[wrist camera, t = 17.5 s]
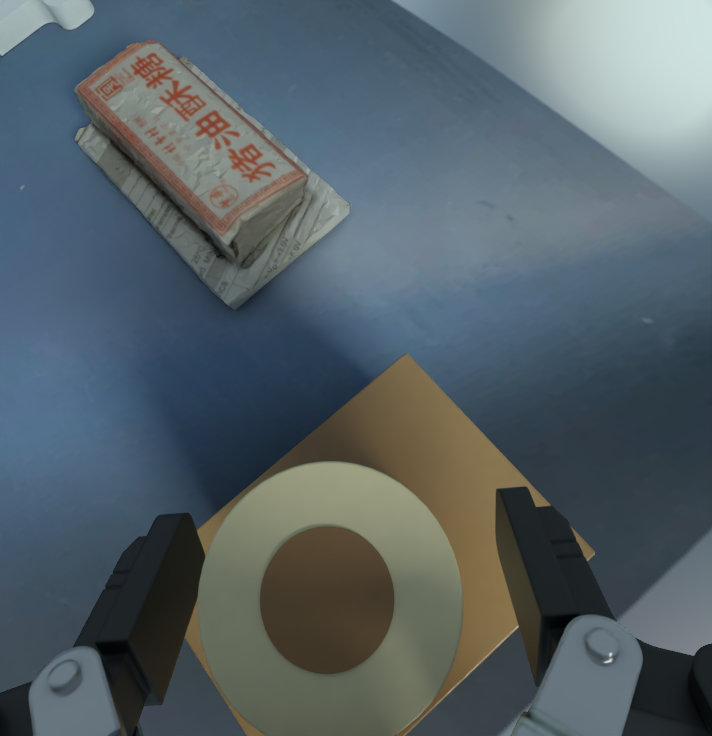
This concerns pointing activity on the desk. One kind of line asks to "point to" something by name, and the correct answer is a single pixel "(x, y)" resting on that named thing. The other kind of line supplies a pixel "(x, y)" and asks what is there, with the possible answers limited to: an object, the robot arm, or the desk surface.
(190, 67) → the packaged product
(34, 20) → the mounting plate
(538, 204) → the desk surface
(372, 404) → the oak box
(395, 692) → the toilet paper roll
